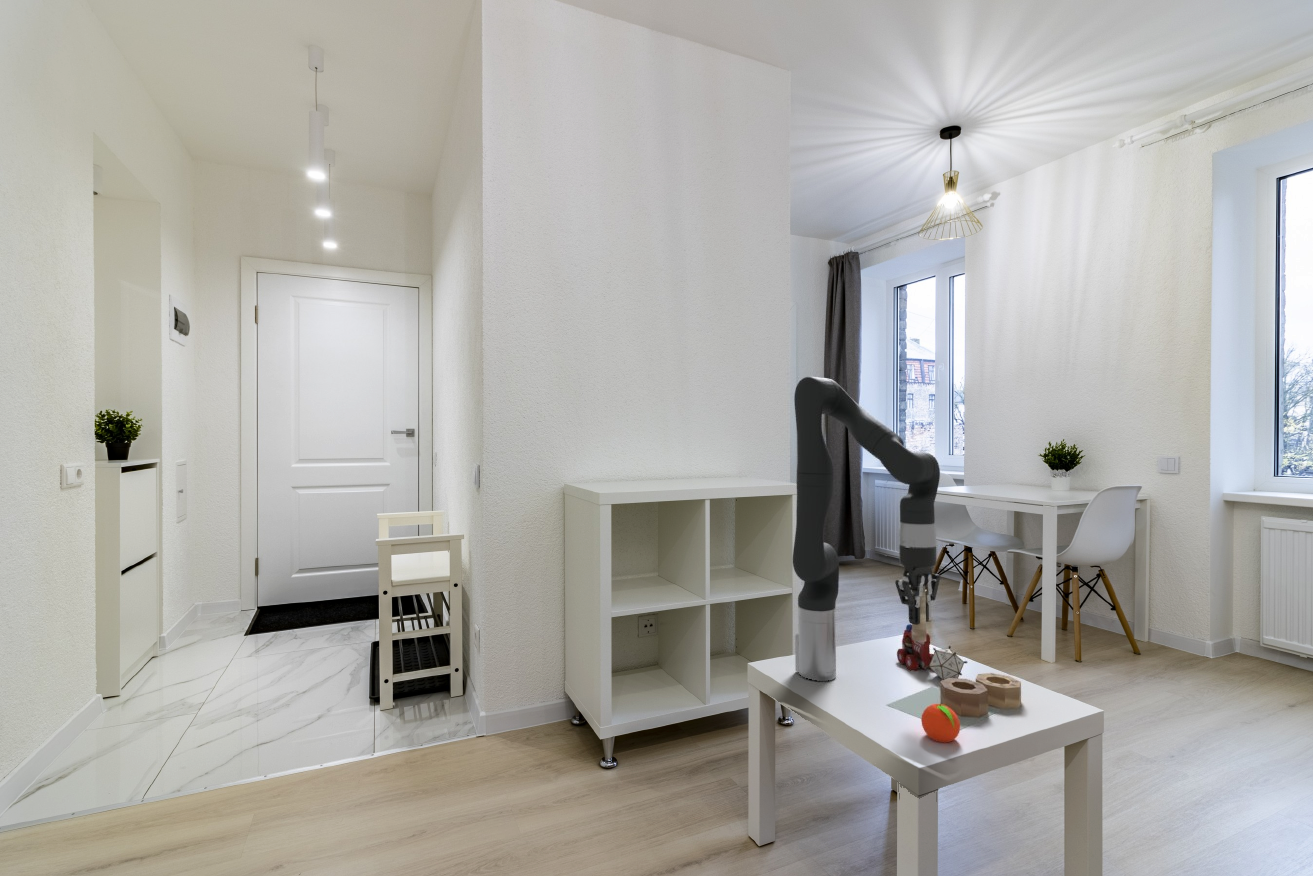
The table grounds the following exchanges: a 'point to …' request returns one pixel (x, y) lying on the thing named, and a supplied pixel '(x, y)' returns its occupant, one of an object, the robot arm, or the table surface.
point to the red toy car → (914, 651)
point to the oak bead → (1001, 690)
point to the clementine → (940, 723)
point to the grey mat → (931, 696)
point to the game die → (946, 663)
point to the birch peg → (920, 629)
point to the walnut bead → (964, 697)
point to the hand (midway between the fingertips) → (918, 622)
